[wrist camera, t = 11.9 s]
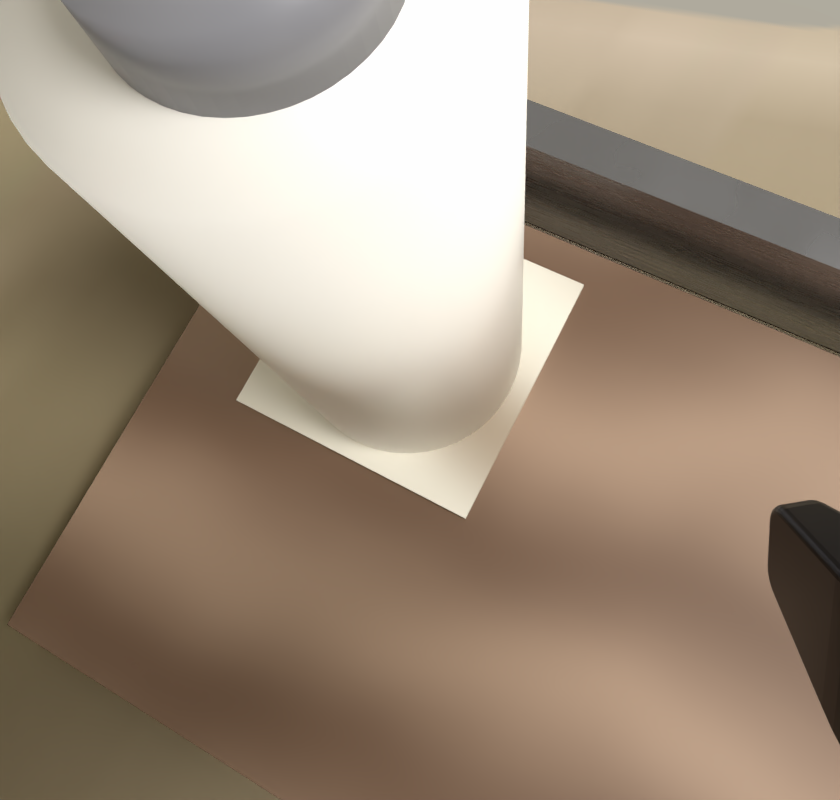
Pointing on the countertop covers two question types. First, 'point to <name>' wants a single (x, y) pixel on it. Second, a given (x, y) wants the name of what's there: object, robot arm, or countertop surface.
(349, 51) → the bottle
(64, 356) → the countertop surface
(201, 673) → the shelf board
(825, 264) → the price rail
